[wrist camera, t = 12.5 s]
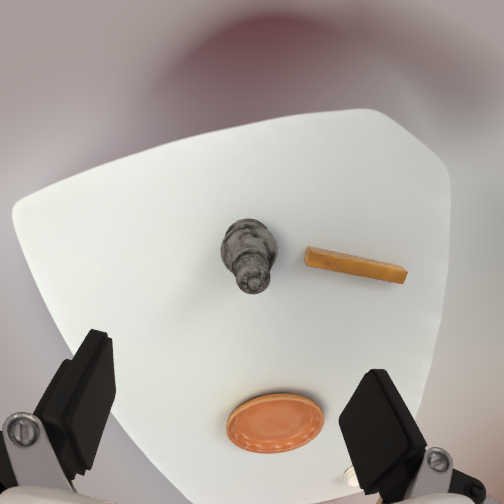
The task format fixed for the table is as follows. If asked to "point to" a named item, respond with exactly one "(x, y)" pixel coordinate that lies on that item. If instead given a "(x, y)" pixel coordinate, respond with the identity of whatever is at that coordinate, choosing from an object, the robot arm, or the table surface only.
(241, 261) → the salt shaker
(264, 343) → the table surface
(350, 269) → the golden stick
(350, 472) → the coaster
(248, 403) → the saucer
